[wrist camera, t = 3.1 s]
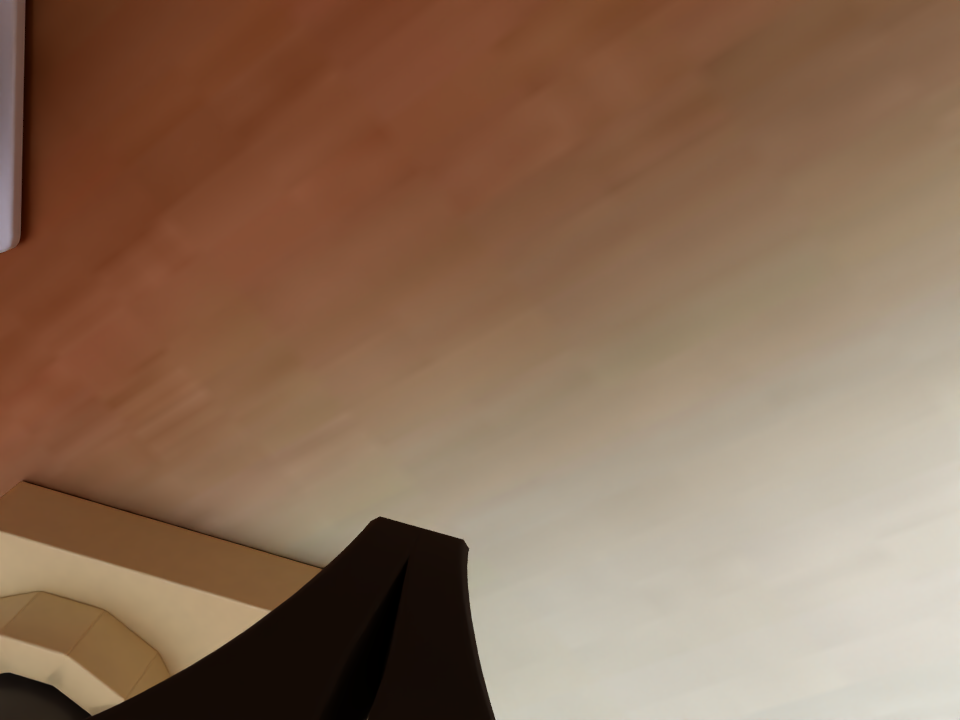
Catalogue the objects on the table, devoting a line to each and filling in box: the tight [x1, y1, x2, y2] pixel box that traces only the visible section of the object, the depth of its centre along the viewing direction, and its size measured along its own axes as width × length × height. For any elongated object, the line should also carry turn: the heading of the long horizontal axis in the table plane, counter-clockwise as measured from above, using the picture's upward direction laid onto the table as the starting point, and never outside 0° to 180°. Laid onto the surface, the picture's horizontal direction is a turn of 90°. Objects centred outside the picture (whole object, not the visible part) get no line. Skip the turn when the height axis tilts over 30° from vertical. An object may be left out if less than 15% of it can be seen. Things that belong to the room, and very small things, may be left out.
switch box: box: [0, 482, 323, 716], centre depth 24 cm, size 12×10×4 cm
